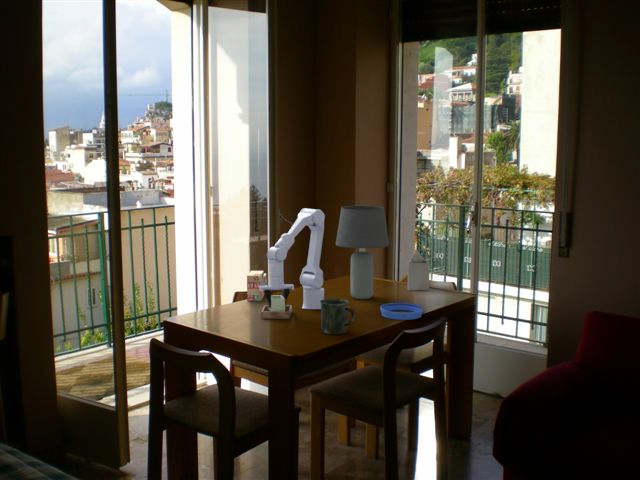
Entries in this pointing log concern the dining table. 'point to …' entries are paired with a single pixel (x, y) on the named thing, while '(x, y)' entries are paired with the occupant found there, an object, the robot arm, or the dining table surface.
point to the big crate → (276, 313)
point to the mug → (335, 315)
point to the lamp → (362, 243)
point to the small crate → (277, 303)
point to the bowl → (401, 311)
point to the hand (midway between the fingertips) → (276, 306)
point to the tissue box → (418, 273)
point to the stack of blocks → (255, 285)
